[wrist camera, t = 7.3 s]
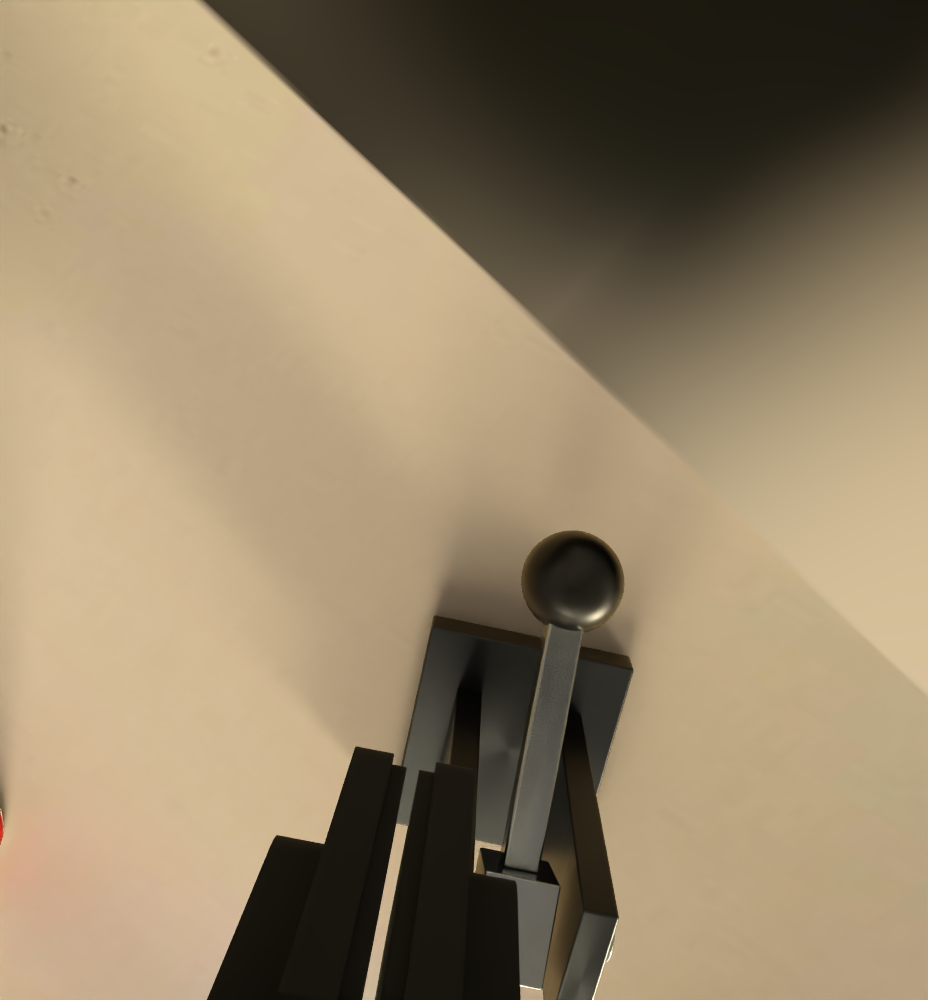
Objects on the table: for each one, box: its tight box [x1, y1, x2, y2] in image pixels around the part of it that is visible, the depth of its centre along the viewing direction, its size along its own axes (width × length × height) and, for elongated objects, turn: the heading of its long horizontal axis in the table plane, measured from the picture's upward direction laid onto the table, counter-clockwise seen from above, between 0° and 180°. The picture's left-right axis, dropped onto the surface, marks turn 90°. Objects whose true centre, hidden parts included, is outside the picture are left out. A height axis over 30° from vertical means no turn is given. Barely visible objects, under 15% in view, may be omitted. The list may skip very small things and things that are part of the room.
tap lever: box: [475, 531, 624, 990], centre depth 25 cm, size 13×3×3 cm, turn 168°
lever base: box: [396, 616, 633, 1000], centre depth 28 cm, size 9×8×12 cm
